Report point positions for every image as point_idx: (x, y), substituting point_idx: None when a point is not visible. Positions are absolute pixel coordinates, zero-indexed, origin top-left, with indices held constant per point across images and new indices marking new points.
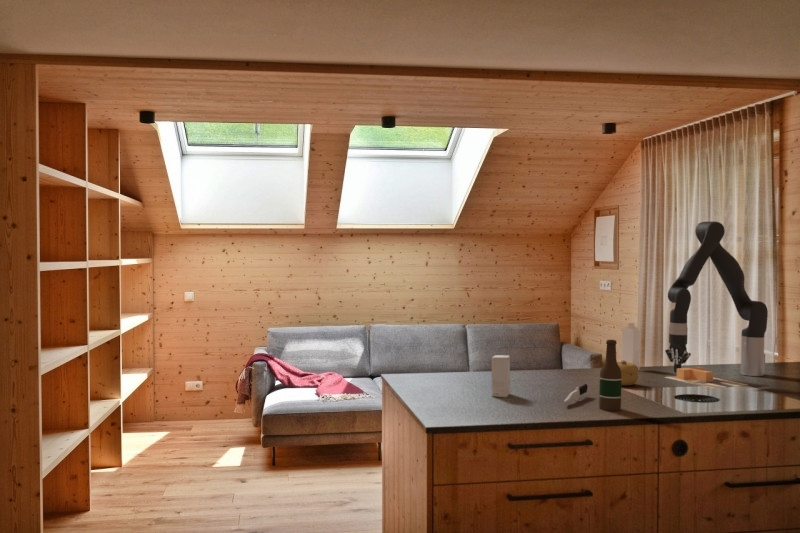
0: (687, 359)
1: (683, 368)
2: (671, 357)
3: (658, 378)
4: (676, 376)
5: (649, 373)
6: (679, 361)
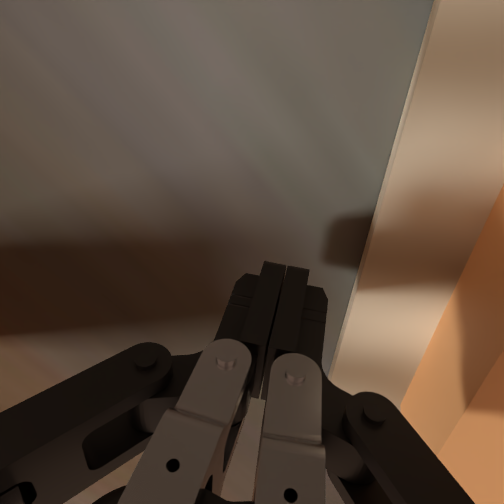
0: (469, 498)
1: (467, 469)
2: (122, 456)
3: (255, 408)
4: (352, 351)
5: (28, 284)
6: (335, 477)
